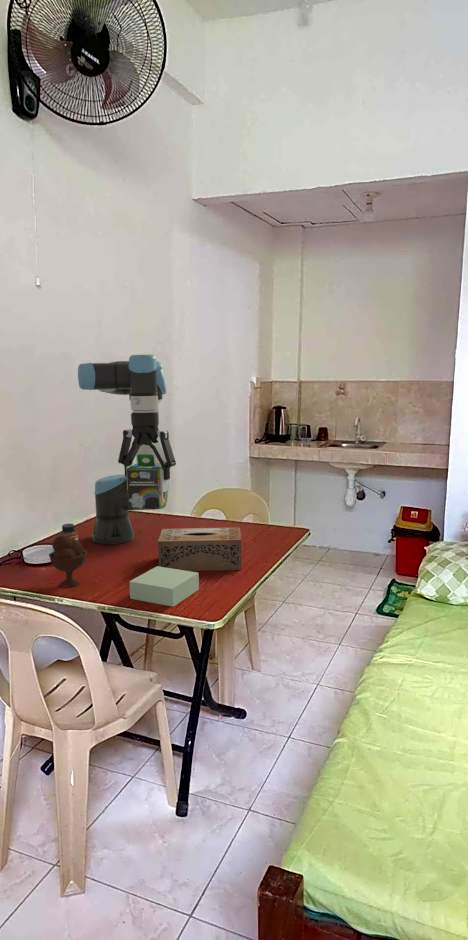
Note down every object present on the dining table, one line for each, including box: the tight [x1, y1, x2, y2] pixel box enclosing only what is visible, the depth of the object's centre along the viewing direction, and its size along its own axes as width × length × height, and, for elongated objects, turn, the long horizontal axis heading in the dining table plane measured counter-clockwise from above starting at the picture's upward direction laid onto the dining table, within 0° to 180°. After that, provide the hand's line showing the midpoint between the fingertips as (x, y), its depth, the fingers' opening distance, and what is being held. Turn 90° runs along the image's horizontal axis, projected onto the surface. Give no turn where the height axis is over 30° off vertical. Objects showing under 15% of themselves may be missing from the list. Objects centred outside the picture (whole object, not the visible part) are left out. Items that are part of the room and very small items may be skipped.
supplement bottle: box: [59, 523, 79, 541], centre depth 211 cm, size 6×6×11 cm
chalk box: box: [127, 454, 168, 510], centre depth 178 cm, size 9×9×15 cm
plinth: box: [129, 565, 200, 607], centre depth 178 cm, size 14×14×5 cm
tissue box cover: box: [157, 526, 243, 572], centre depth 204 cm, size 26×14×10 cm, turn 91°
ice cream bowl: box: [48, 535, 88, 587], centre depth 186 cm, size 11×11×15 cm
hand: (147, 489), depth 178 cm, fingers closed on chalk box, 11 cm apart
